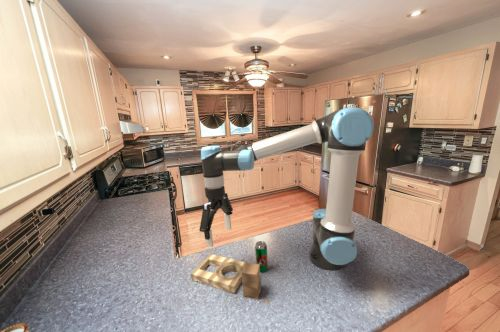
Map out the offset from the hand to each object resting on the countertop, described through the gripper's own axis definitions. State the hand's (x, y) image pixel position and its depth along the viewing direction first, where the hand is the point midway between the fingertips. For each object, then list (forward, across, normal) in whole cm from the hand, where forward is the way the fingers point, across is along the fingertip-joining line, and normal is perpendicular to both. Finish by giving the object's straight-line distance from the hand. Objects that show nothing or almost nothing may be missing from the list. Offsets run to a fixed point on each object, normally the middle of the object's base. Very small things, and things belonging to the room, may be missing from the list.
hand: (219, 236), depth 83 cm
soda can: (+18, -9, +14) cm, 24 cm away
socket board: (+18, 0, -1) cm, 18 cm away
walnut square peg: (+18, +4, +15) cm, 24 cm away
